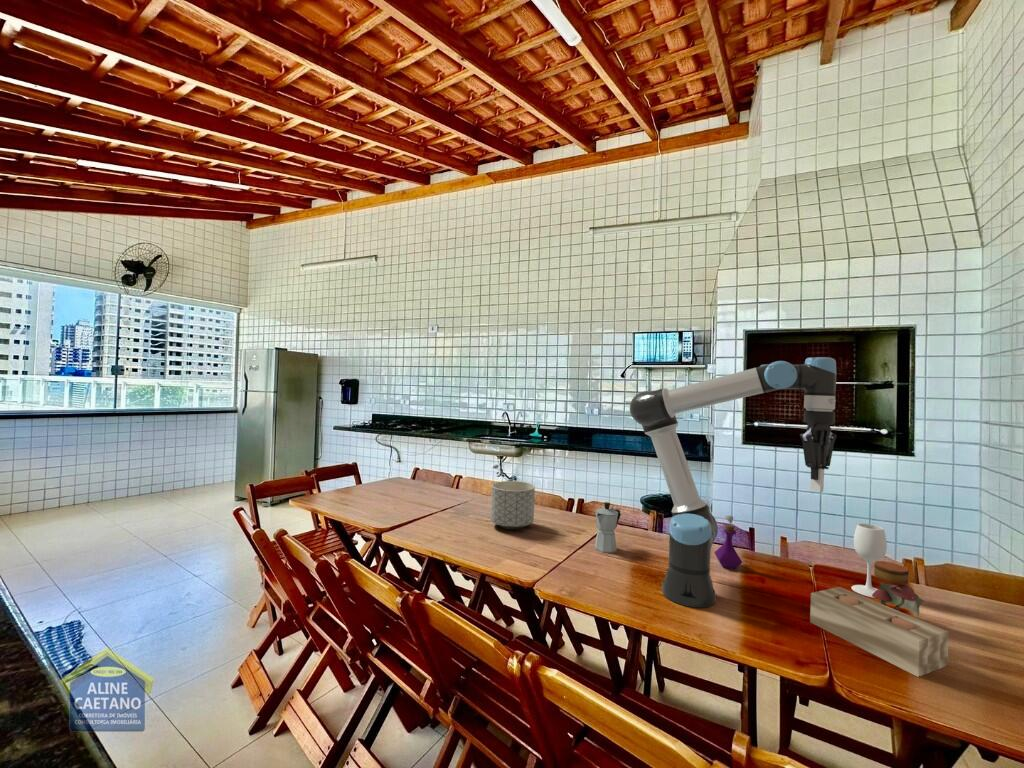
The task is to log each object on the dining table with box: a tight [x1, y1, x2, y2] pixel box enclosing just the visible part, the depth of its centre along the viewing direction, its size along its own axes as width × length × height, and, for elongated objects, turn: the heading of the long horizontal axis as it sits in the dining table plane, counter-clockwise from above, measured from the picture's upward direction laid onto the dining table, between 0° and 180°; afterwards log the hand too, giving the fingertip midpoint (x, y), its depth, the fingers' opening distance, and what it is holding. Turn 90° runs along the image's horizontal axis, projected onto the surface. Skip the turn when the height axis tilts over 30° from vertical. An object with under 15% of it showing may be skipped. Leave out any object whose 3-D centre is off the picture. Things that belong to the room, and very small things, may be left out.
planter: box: [490, 480, 536, 530], centre depth 194 cm, size 19×19×18 cm
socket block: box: [809, 586, 949, 678], centre depth 111 cm, size 12×24×8 cm, turn 22°
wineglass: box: [851, 522, 888, 599], centre depth 140 cm, size 9×9×21 cm
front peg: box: [892, 618, 914, 630], centre depth 106 cm, size 4×4×7 cm
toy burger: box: [872, 560, 925, 619], centre depth 123 cm, size 12×13×15 cm
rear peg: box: [839, 595, 858, 606], centre depth 117 cm, size 4×4×7 cm
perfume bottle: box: [714, 514, 743, 570], centre depth 157 cm, size 8×8×18 cm
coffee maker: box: [594, 501, 622, 554], centre depth 171 cm, size 15×9×18 cm, turn 131°
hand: (816, 490), depth 128 cm, fingers closed
